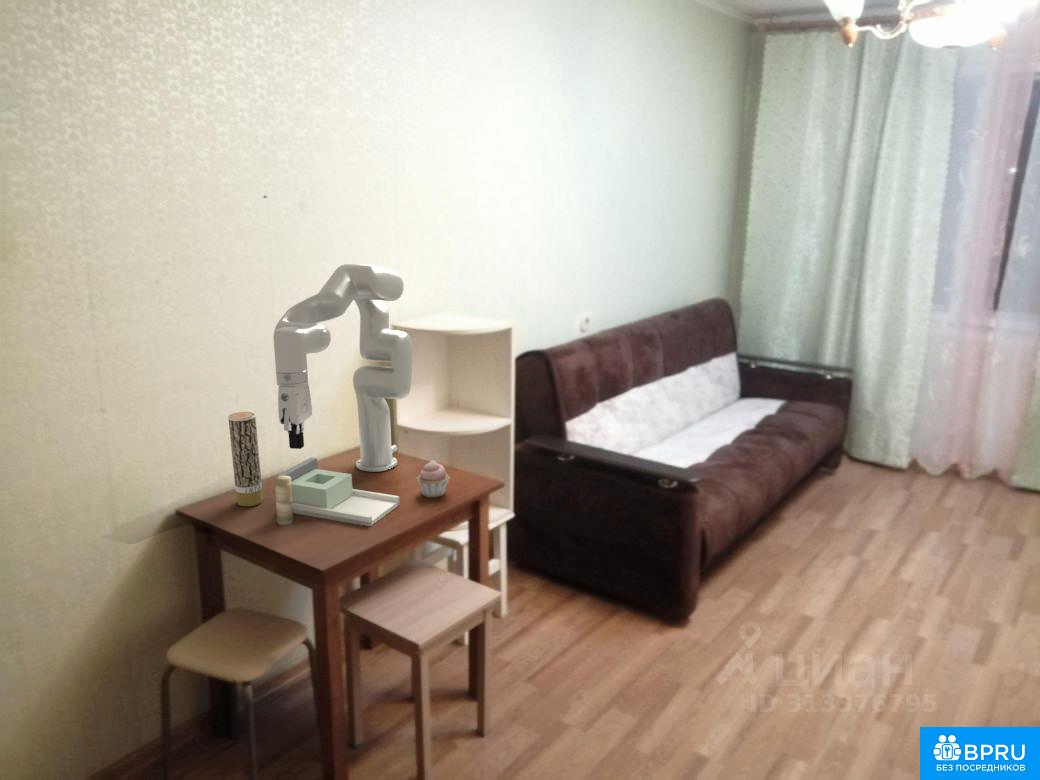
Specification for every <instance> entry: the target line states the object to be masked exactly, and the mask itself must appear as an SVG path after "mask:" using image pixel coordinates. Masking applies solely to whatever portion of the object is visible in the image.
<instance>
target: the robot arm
mask: <svg viewBox="0 0 1040 780" xmlns="http://www.w3.org/2000/svg"><path fill="white" fill-rule="evenodd" d="M403 293H404V281H403V278H402V276H401V275H400V274H399V273H398V272H397V271H395V270H391V269H388V268H385V267H382V266H380V265H374V264H362V263H360V264H358V263H346V264H342V265H339V266H338V267H337V268H336V269H335V270H334V271H333V273H332V275H331V276H330V277H329V278H328V280H327V281H326V282H325V283H324V284H323V286H322V287H321V289H320V291H319V292H317V293H316V294H314V295H312V296H309V297H307V298H305V299H303V300H302V301H299V302H298V303H296V304H295V305H294V304H293V305H292V306H291V307H290V308H289V309H287V310H286V311H285V313H284V314H283V316H282V317H281V318H280V319H279V321H278V322H277V324H276V326H275V327H274V331H273V336H272V337H273V349H274V350H273V351H274V362H275V363H274V364H275V365H274V366H275V379H276V384H277V385H276V386H278V392H277V393H278V394H277V398H278V399H277V402H278V403H277V405H278V409H277V411H278V420H279V423H280V424H281V425H283V431H287V434H288V443H289V444H288V445H289V449H297V450H300V449H302V448H304V447H305V440H304V439H305V438H304V429H305V426H304V423H305V421H306V420H308V419H309V418H311V416H312V415H313V408H312V407H313V406H312V399H311V391H310V385H309V376H308V361H307V359H308V358H307V355H308V354H317V353H322V352H323V351H325V350H326V349H328V347H329V346H330V344H331V341H332V339H331V338H332V335H331V331H330V329H329V328H328V327H327V326H326V325H325V324H321V323H322V322H327V321H331V320H333V319H336V318H340V317H341V316H342V315H344V313H346V311H347V310H348V308H349V306H351V304H352V302H353V301H354V302H355V304H356V306H357V308H358V312H359V319H360V320H359V355H360V356H361V357H362V358H363V359H364V360H367V361H372V362H385V363H391V364H392V366H387V365H386V366H385V365H373V364H372V365H371V364H369V365H366V364H365V365H362V366H360V367H358V368H356V370H355V371H354V373H353V375H352V376H353V377H352V383H353V384H352V386H353V389H354V392H355V397H356V401H357V413H358V431H359V450H360V451H359V452H360V453H359V454H360V458H359V459H358V460H356V462H355V467H356V469H358V470H360V471H363V472H368V473H369V472H371V473H374V472H375V473H376V472H384V471H389V470H391V468H392V469H393V467H394V468H395V467H396V466H397V465H398V459H397V458H396V457H394V456H393V454H394V452H396V451H398V446H397V444H393V445H392V432H391V429H392V427H391V409H390V407H389V404H388V403H387V400H386V399H391V400H402V399H403V400H404V399H406V398H407V397H408V395H409V394H410V392H411V387H412V379H413V378H412V377H413V353H414V352H413V350H414V348H413V342H412V338H411V336H410V335H409V334H408V333H407V332H405V331H401V330H392V329H390V313H389V309H388V307H387V306H386V304H385V303H384V301H385V302H390V301H391V302H394V301H397V300H398V299H400V298H401V296H402V295H403ZM388 469H389V470H388Z"/></svg>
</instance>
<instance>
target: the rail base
mask: <svg viewBox="0 0 1040 780" xmlns="http://www.w3.org/2000/svg"><path fill="white" fill-rule="evenodd" d="M313 469H319V468H318V458H317V457H309V458H307V459H305V460H303V461H301V462H300V463H297V464H296V465H294V466H292V467H290V468H288V469H286V470H284V471H282V472H281V473H279V474H277V475H276V477H279V476H290V477H291V482H292V481H293V480H295V479H297V478H299V477H301V476H302V475H304V474H306V473H308V472H310V471H311V470H313ZM352 490H353V495H351V496H350V497H348V498H347V499H345V500H344V501H342V502H341V503H339V504H338V505H336V506H334V507H333V508H331V509H328V508H322V507H316V506H310V505H304V504H299V503H293V502H292V505H293V514H295V515H301V516H302V515H303V516H308V517H312V518H313V517H314V518H319V519H325V520H331V521H336V522H342V523H346V524H347V523H348V524H353V525H358V524H359V525H358V526H363V525H365V526H364V527H369V526H370V527H372V526H373V525H374V523H375V524H376V523H377V522H378V520H379V521H380V520H381V519H383V518H384V517H385V516H387V515H388V514H389V513H391V512H392V511H393V510H395V509H396V508H397V507H399V506H400V495H399V496H398V495H393V494H388V493H381V492H375V491H367V490H362V489H356V488H352ZM398 505H399V506H398ZM386 514H387V515H386Z"/></svg>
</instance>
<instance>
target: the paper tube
mask: <svg viewBox="0 0 1040 780" xmlns="http://www.w3.org/2000/svg"><path fill="white" fill-rule="evenodd" d="M227 416H228V426H229V427H228V428H229V436H230V437H229V439H230V448H231V456H232V457H231V458H232V467H233V469H232V470H233V479H234V485H235V486H234V487H235V496H236V504H238V505H239V506H241V507H254V506H257V505H260V504H261V503H262V502H263V500H264V496H263V484H262V474H261V464H260V463H261V462H260V452H259V450H260V449H259V440H258V439H259V438H258V430H257V420H256V419H257V417H256V413H255V412H253V411H240V412H235V413H234V412H233V413H231V414H228V415H227Z"/></svg>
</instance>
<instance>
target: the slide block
mask: <svg viewBox="0 0 1040 780" xmlns="http://www.w3.org/2000/svg"><path fill="white" fill-rule="evenodd" d="M291 486H292V502H293V503H299V504H304V505H310V506H316V507H322V508H328V509H331V508H333V507H334V506H336V505H338V504H339V503H341V502H342V501H344V500H345V499H347V498H348V497H350V496H351V495H353V490H352V489H353V475H352V473H344V472H339V471H334V470H333V471H332V470H327V469H321V468H318V469H313V470H311V471H310V472H308V473H306V474H304V475H302V476H301V477H299V478H297V479H295V480H293V481H292V482H291Z"/></svg>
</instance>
